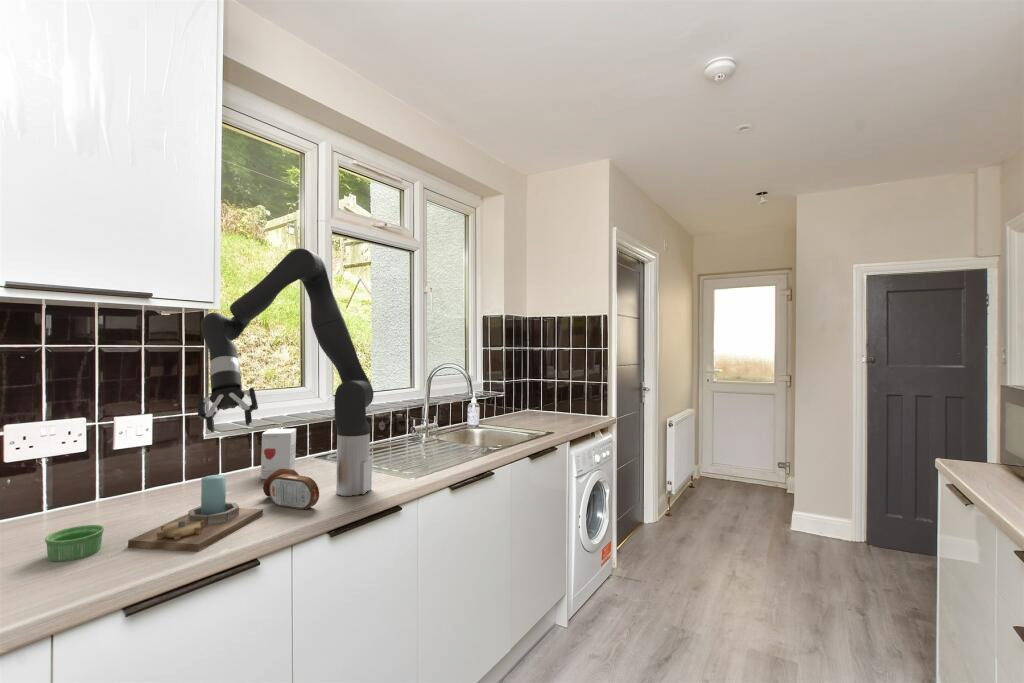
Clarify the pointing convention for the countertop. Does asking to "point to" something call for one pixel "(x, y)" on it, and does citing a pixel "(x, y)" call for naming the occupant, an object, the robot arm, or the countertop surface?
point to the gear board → (196, 529)
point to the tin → (294, 491)
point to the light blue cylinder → (213, 494)
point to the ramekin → (74, 542)
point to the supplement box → (277, 451)
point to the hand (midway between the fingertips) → (230, 427)
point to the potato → (275, 474)
